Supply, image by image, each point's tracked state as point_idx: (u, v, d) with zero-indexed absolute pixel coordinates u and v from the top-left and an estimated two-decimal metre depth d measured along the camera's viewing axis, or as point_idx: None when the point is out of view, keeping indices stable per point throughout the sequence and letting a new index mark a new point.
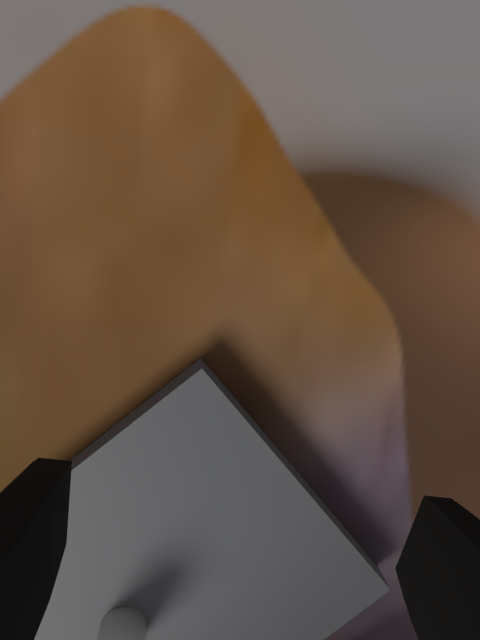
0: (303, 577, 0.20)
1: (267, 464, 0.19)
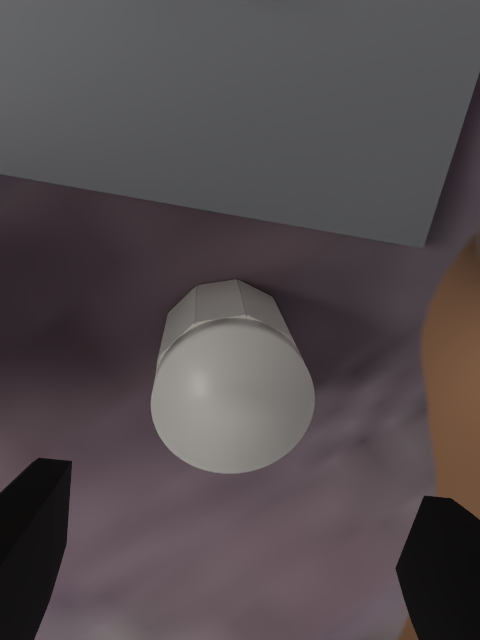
0: (379, 127, 0.14)
1: None
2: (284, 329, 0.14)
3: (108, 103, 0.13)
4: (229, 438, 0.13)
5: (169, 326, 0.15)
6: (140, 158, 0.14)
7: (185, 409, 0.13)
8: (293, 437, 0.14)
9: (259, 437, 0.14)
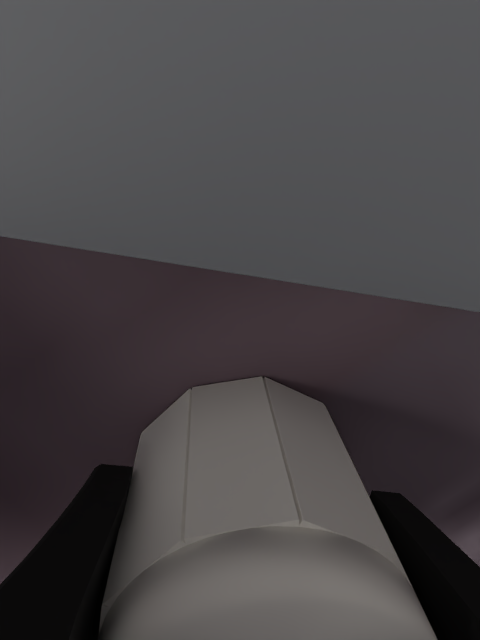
0: None
1: None
2: (377, 531, 0.06)
3: None
4: None
5: (137, 488, 0.08)
6: (67, 163, 0.06)
7: None
8: None
9: None
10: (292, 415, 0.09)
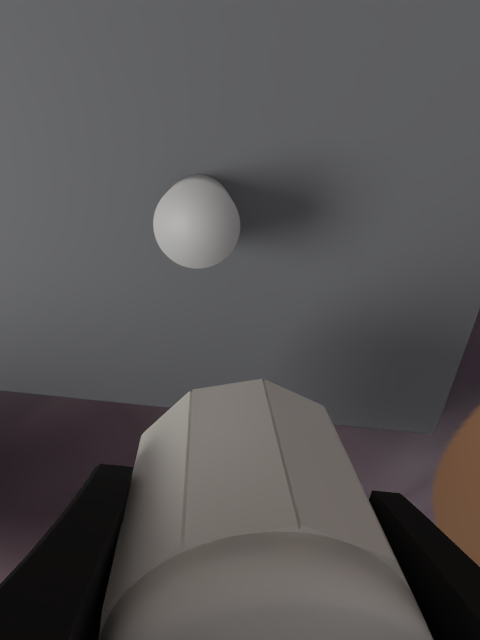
0: (394, 344, 0.16)
1: None
2: (376, 536, 0.06)
3: (154, 339, 0.15)
4: None
5: (137, 491, 0.08)
6: (182, 378, 0.16)
7: None
8: None
9: None
10: (292, 418, 0.09)
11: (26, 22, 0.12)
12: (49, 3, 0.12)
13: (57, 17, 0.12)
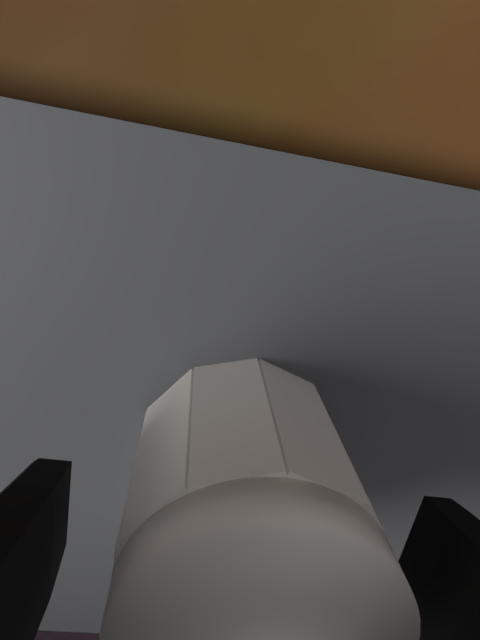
0: None
1: None
2: (355, 486, 0.07)
3: None
4: None
5: (144, 453, 0.09)
6: None
7: None
8: None
9: None
10: (284, 391, 0.09)
11: (36, 260, 0.09)
12: (66, 239, 0.09)
13: (75, 254, 0.09)
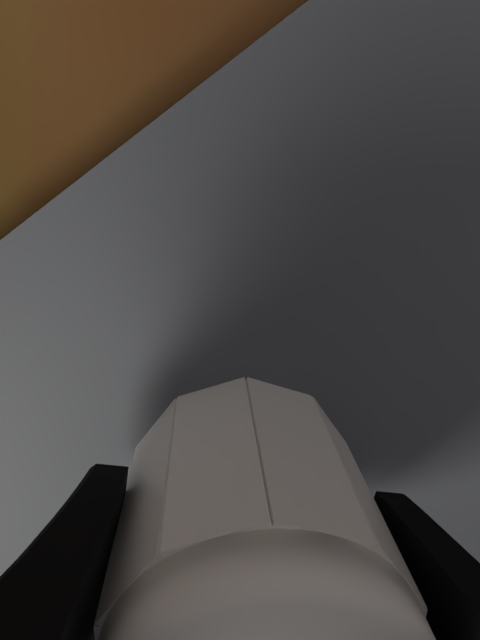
0: None
1: None
2: (255, 505, 0.06)
3: None
4: None
5: None
6: None
7: None
8: None
9: None
10: (195, 423, 0.08)
11: None
12: None
13: None
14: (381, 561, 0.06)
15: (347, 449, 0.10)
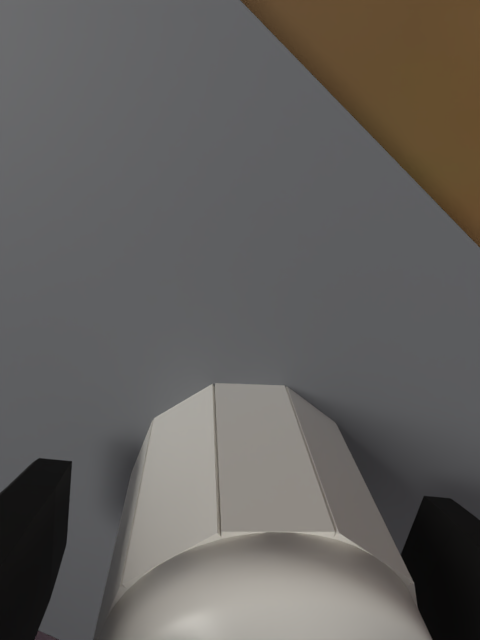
0: None
1: None
2: (316, 512, 0.06)
3: (99, 572, 0.11)
4: None
5: (119, 534, 0.08)
6: None
7: None
8: None
9: None
10: (239, 414, 0.08)
11: (174, 190, 0.08)
12: (217, 187, 0.08)
13: (216, 207, 0.08)
14: (412, 597, 0.06)
15: None
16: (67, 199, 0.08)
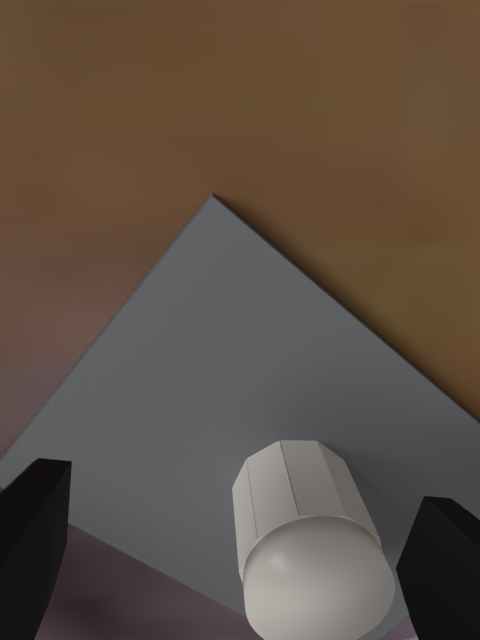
0: None
1: None
2: (338, 507, 0.15)
3: (209, 543, 0.20)
4: (328, 622, 0.15)
5: (237, 519, 0.17)
6: (208, 572, 0.20)
7: (280, 615, 0.14)
8: (385, 602, 0.14)
9: (354, 612, 0.14)
10: (296, 459, 0.17)
11: (266, 350, 0.17)
12: (287, 348, 0.17)
13: (285, 357, 0.17)
14: (379, 544, 0.15)
15: None
16: (214, 355, 0.16)
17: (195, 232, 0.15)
